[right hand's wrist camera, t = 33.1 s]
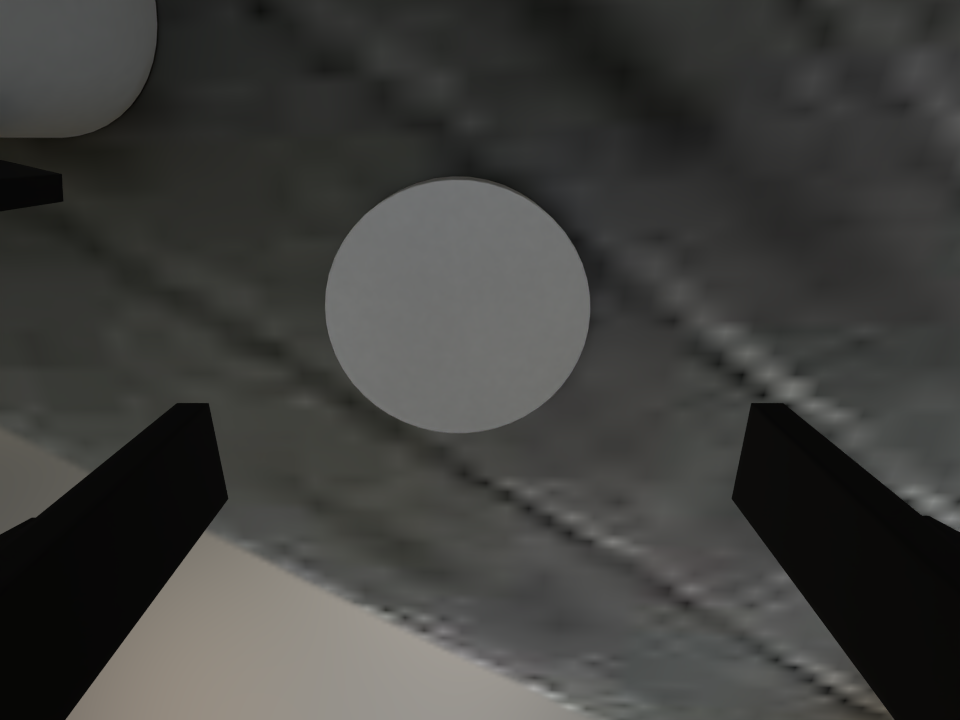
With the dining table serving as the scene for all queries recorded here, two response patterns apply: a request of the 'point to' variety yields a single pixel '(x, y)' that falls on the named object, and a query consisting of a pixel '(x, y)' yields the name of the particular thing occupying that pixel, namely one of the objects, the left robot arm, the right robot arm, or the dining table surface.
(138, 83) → the jar
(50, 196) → the left robot arm
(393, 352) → the lid
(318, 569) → the dining table surface
